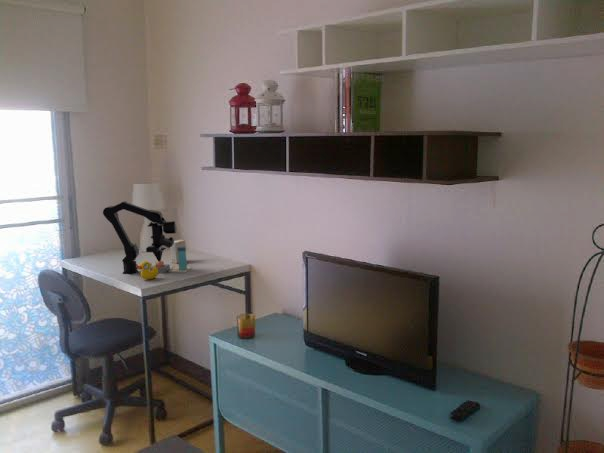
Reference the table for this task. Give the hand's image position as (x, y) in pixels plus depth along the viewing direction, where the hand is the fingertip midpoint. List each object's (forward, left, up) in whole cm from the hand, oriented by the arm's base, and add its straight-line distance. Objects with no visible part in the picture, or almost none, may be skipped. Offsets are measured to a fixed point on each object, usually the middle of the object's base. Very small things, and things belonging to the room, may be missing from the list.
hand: (159, 261), depth 310 cm
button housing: (0, 0, -6) cm, 6 cm away
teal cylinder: (+12, +4, -5) cm, 14 cm away
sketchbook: (+10, +4, -6) cm, 12 cm away
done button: (0, 0, -3) cm, 3 cm away
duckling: (+1, -17, -6) cm, 18 cm away
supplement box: (+2, +22, -6) cm, 23 cm away
